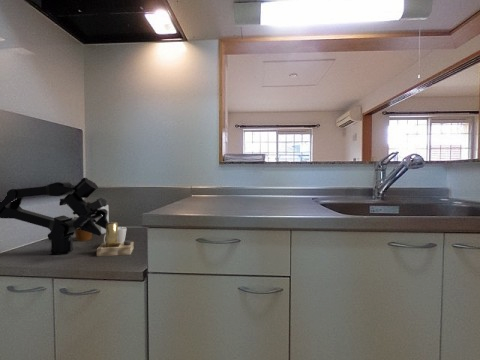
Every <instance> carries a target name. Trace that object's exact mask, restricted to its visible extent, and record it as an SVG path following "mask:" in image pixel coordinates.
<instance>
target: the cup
mask: <svg viewBox="0 0 480 360" xmlns="http://www.w3.org/2000/svg"><path fill="white" fill-rule="evenodd" d="M127 230H128V229H127V227H125V226H118V242H124V241H126V234H127ZM103 235H104V236H103V243H106V233H104V234H103Z"/></svg>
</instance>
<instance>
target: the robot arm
mask: <svg viewBox="0 0 480 360" xmlns="http://www.w3.org/2000/svg"><path fill="white" fill-rule="evenodd" d="M98 188H99V187H98V185H97V184H96V183H95V182H94V181H92V180H90V179H89V178H87V177H83V178H81V179H80V181H79V182H78V183H77V184H76V185H74V184H72V183H71V182H69V181H57V182H53V183H49V184H47V185H43V186H33V187H26V188H25V187H24V188H11V189H9V190H8V191H7V192H6V193H7V196H6V197H5V199H4V200H3V201H2V202H0V219H14V220H17V221H21V222H25V223H28V224H32V225H35V226H39V227H43V228H47V229H49V230H50V232H49V233H48V234H47V238H48V240H49V241H50V243H51V246H50V249H51V250H50V251H51V252H49V253H48V254H49V255H52V256H53V255H68V254H69V253H70V252H71V251H73V249H74V247H73V246H74V245H73V244H74V241H73V240H72V236H74V234H75V233H76V232H75V231H76V230H77V229H78V228H79V230H83V231H87V232H90V233H93V234H92V235H96V236H101V235H103V234H102V233H101V232H100V230H99V229H98V228H97V227H96V225H95V224H97V225H99V226H101V227H103V228H104V229H106V223H108V221H107V213H108V211H107V210H106V209H100V210H98V209H99V208H101V207H103V206H104V207H105V206H107V205H108V204H107V200H105V198H103V197H100V198H98V199H96V200H95V201H93V202H90V201H88V202H87V201H86V200H84V199H88V198H89V197H90V196H92V194H93V193H95V191H97V190H98ZM37 196H49V197H63V198H60V199H59V206H68V207H69V208H70V209H71V210H72V215H74V216H76V215H78V216H79V217H78V218H77V219H76V220H74V219H73V218H74V217H69V216H66V215H60V216H55V217H52V216H49V215H45V214H41V213H38V212H35V211H31V210H27V209H23V208H22V207H21V206H20V205H21V204H22V200H23V199H24V198H29V197H37ZM16 198H17V200H15V201H13V200H14V199H16ZM11 201H13V202H11ZM95 212H96V213H95ZM94 222H96V223H95V224H94Z"/></svg>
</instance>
